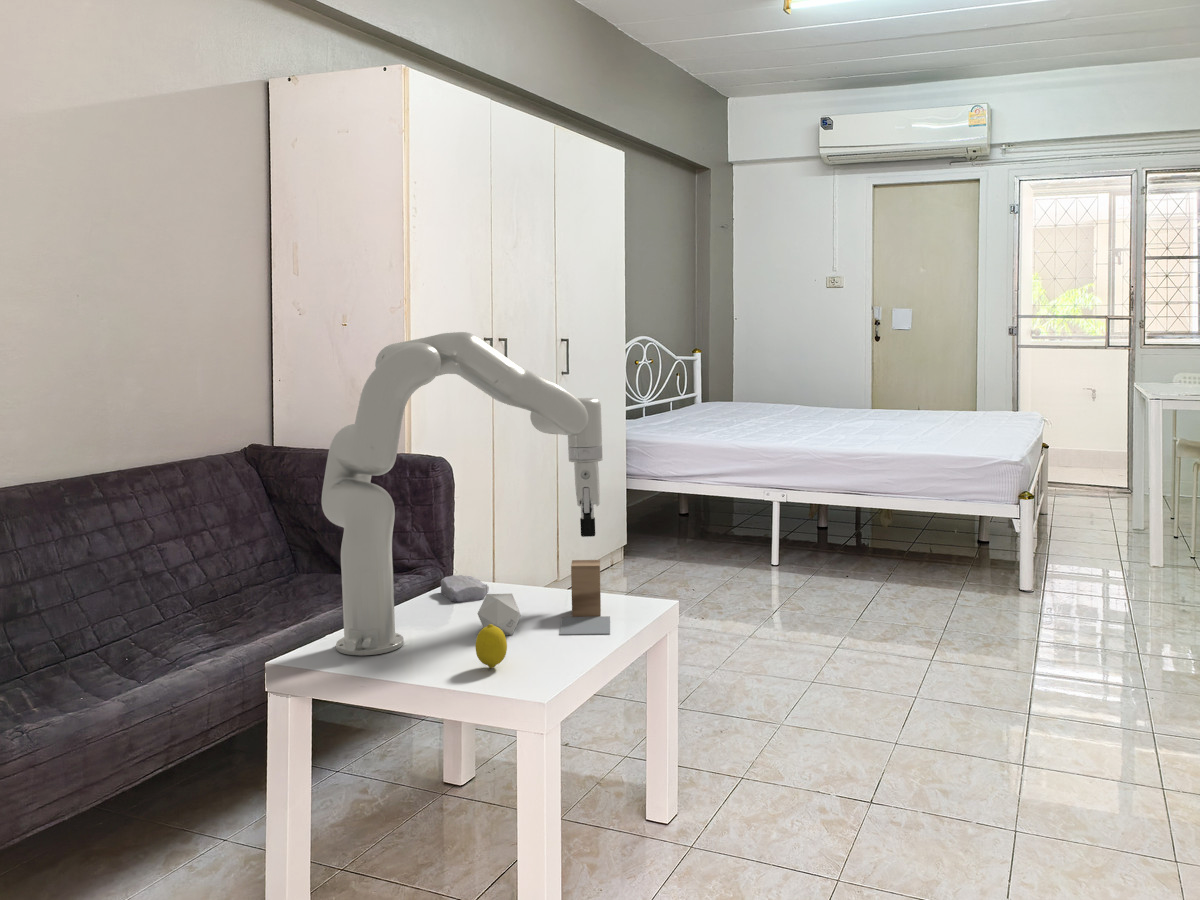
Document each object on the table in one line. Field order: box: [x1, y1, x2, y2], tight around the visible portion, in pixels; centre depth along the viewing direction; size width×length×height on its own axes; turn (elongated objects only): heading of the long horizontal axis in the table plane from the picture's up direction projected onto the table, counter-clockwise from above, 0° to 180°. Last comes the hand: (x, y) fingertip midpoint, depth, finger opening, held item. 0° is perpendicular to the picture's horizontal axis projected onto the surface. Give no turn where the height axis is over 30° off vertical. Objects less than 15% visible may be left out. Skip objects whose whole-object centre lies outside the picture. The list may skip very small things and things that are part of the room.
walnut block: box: [570, 559, 602, 617], centre depth 207 cm, size 6×6×11 cm
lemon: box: [475, 624, 508, 669], centre depth 172 cm, size 6×6×8 cm
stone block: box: [440, 574, 490, 604], centre depth 225 cm, size 12×5×10 cm
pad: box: [559, 615, 611, 636], centre depth 198 cm, size 13×10×1 cm
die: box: [477, 593, 522, 636], centre depth 194 cm, size 8×9×10 cm
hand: (588, 535), depth 217 cm, fingers closed
